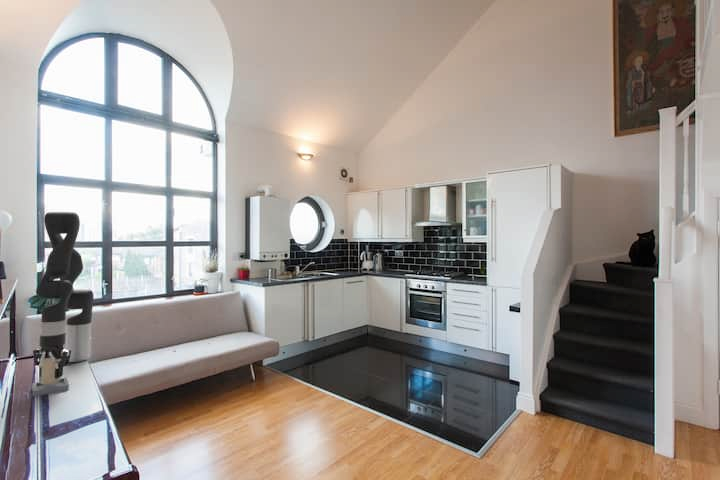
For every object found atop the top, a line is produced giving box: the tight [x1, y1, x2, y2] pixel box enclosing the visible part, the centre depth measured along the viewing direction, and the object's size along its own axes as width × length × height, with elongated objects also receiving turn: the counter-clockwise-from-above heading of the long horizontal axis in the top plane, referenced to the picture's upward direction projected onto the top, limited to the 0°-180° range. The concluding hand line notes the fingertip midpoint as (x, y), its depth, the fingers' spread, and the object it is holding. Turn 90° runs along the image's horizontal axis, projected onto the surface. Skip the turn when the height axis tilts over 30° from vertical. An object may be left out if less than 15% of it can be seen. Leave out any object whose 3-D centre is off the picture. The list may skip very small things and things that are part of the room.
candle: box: [40, 358, 61, 385], centre depth 135 cm, size 6×6×10 cm
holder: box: [31, 376, 70, 398], centre depth 135 cm, size 10×10×2 cm
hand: (50, 376), depth 135 cm, fingers closed on candle, 5 cm apart
